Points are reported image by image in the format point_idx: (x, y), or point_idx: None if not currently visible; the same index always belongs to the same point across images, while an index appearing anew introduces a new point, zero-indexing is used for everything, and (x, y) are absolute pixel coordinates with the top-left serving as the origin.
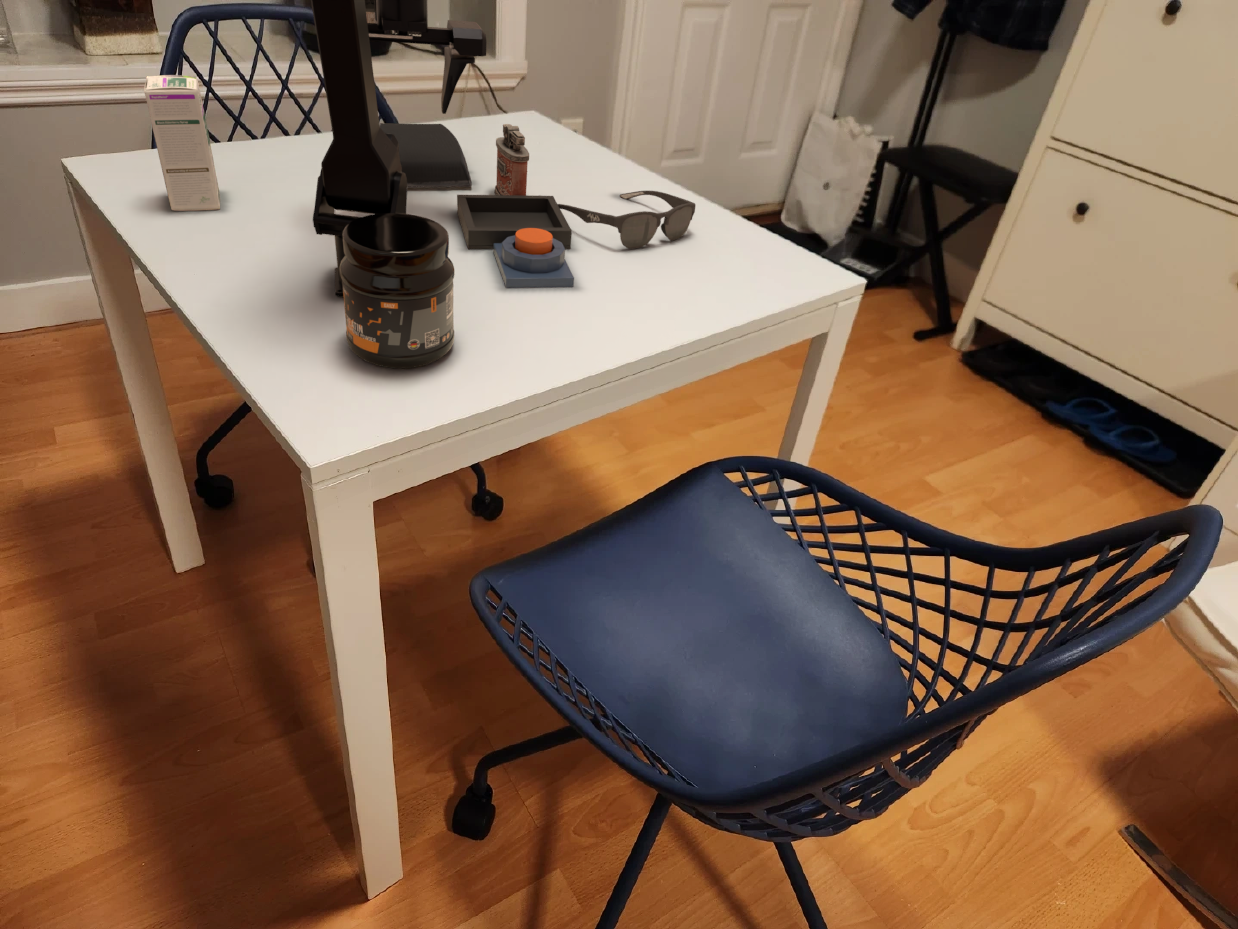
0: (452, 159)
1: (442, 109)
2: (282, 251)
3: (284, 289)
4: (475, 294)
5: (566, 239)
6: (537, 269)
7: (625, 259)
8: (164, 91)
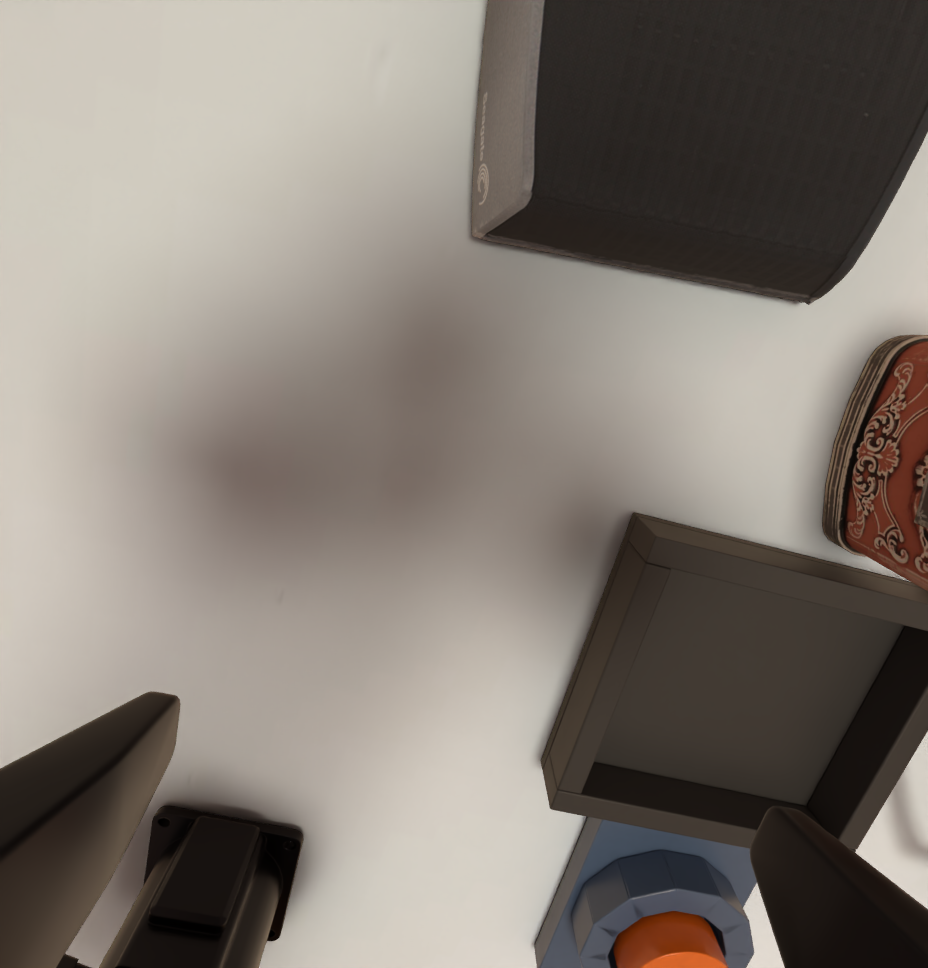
0: (819, 225)
1: (762, 883)
2: (31, 661)
3: None
4: (455, 952)
5: None
6: None
7: (903, 890)
8: None
